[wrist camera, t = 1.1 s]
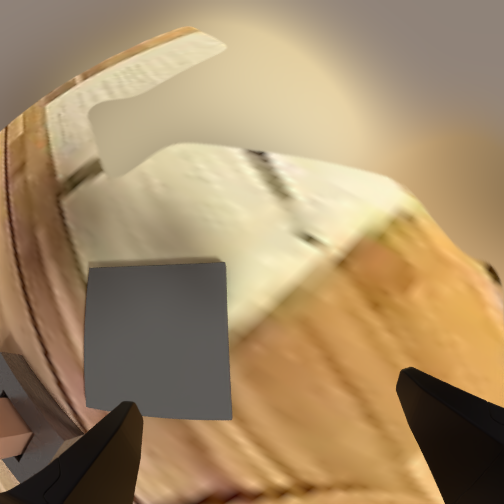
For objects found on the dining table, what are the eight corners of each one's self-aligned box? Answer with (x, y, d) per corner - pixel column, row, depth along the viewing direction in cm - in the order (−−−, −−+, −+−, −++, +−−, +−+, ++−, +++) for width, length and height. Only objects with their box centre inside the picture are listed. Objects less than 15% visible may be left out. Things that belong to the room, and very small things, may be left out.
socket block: (84, 434, 19) (64, 441, 16) (47, 486, 16) (29, 494, 13) (21, 355, 21) (0, 351, 18) (-8, 413, 18) (-27, 413, 15)
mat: (232, 417, 20) (231, 420, 20) (91, 405, 20) (86, 407, 19) (225, 266, 25) (224, 262, 24) (94, 271, 25) (89, 267, 24)
